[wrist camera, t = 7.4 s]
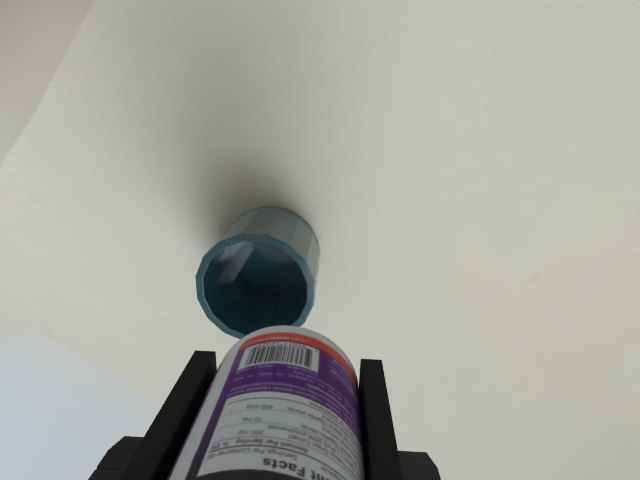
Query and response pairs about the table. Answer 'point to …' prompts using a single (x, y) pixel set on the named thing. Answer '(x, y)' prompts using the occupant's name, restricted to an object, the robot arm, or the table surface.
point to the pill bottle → (277, 413)
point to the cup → (260, 273)
